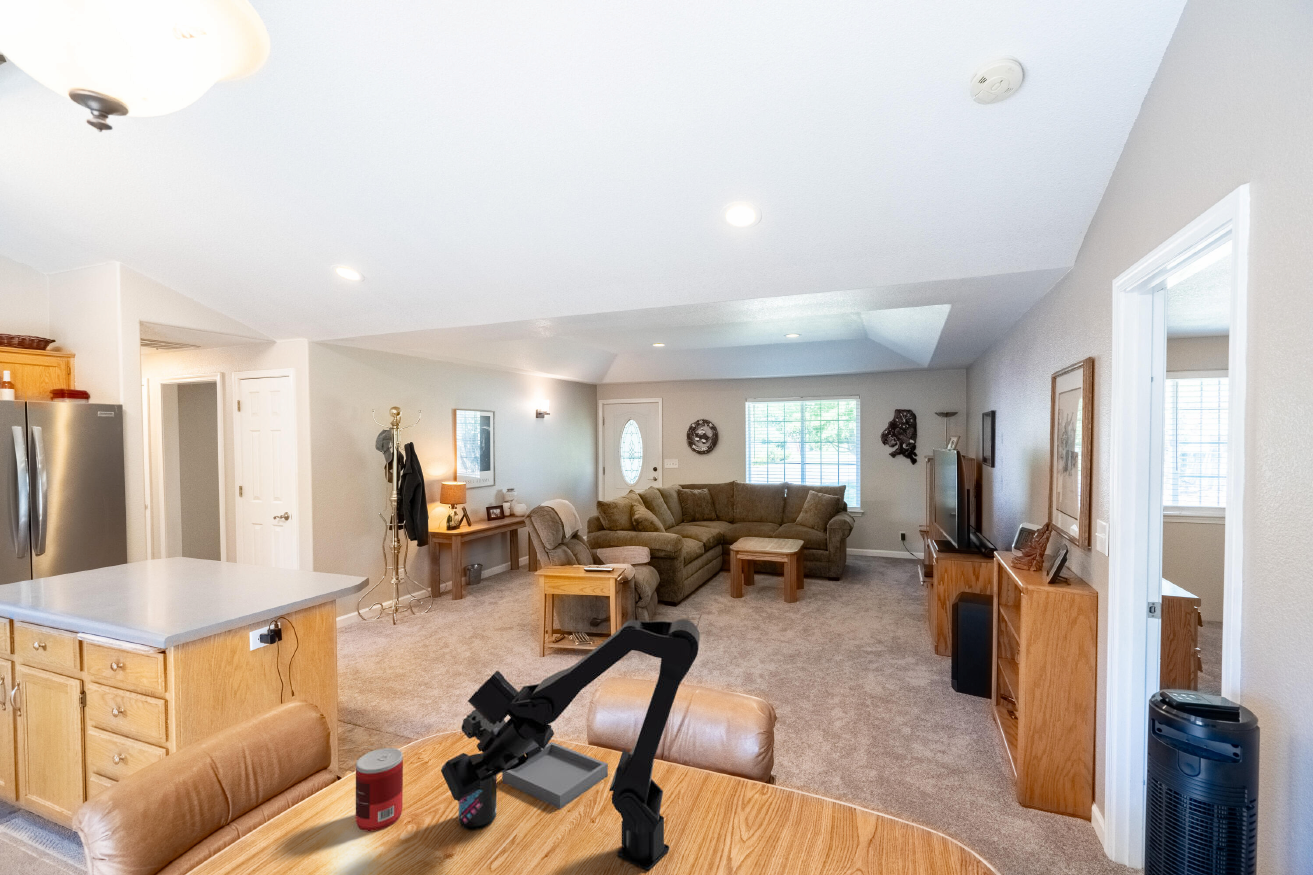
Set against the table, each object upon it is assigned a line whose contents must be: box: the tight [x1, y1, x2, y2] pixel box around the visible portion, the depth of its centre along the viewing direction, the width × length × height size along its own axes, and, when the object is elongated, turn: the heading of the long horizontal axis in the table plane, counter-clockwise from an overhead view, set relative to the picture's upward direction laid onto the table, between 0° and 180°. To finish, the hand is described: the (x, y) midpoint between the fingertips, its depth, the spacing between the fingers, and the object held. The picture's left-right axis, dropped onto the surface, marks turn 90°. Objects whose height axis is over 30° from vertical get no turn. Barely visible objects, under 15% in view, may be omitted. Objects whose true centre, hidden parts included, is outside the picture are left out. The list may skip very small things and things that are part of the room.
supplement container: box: [458, 752, 498, 831], centre depth 111 cm, size 7×7×10 cm
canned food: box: [355, 747, 404, 832], centre depth 112 cm, size 8×8×11 cm
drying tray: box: [501, 741, 609, 810], centre depth 125 cm, size 16×14×2 cm
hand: (472, 780), depth 112 cm, fingers closed on supplement container, 7 cm apart
